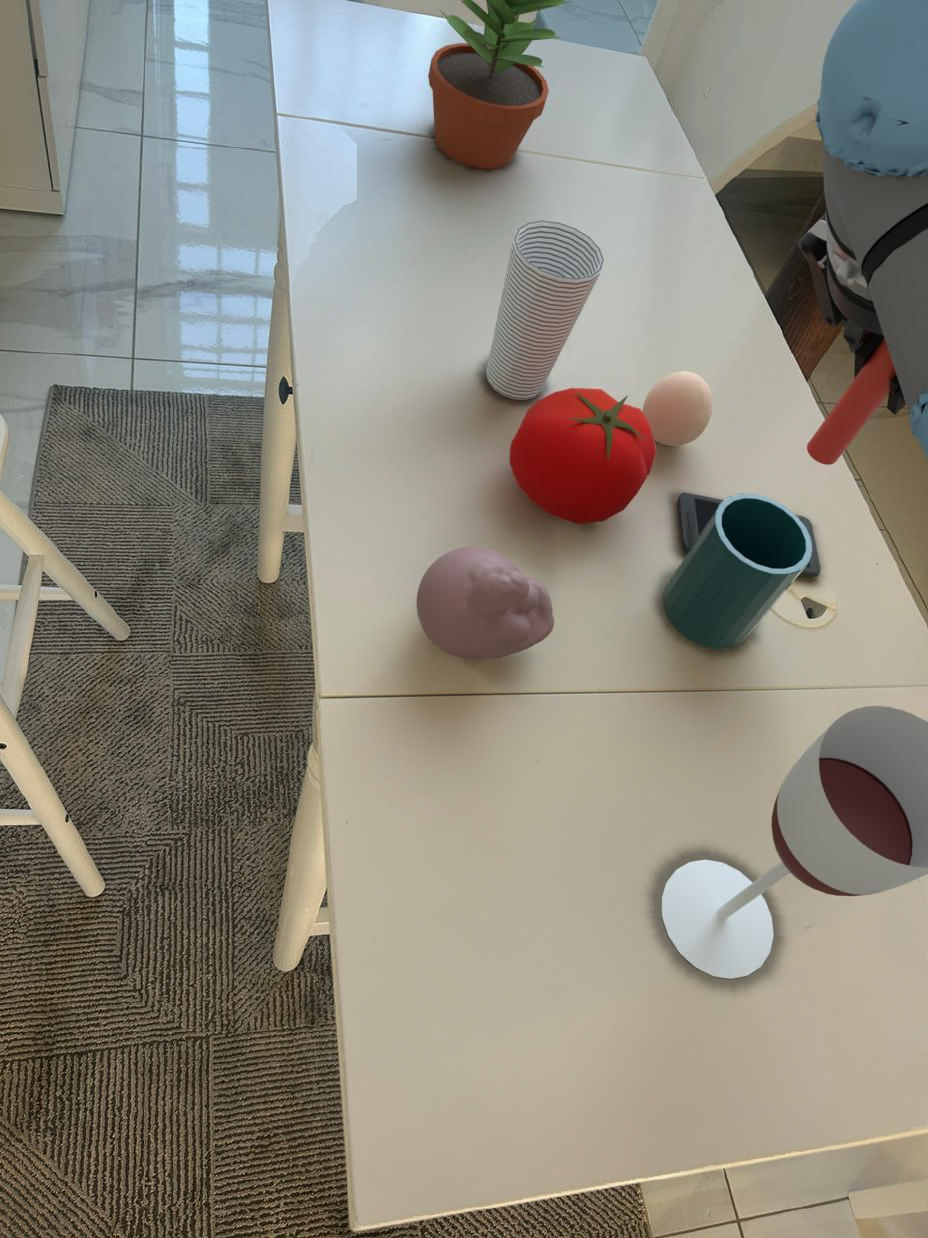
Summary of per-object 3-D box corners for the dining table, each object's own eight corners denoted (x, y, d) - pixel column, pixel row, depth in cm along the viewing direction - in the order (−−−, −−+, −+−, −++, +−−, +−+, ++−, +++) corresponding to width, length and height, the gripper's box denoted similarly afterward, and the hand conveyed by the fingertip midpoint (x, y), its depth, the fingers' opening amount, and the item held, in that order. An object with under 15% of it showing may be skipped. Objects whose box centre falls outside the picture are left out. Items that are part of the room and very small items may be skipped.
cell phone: (675, 495, 95) (678, 490, 94) (807, 522, 97) (811, 517, 96) (681, 553, 91) (684, 548, 90) (819, 580, 93) (823, 575, 92)
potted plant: (390, 132, 121) (438, -157, 97) (467, 102, 129) (528, -172, 105) (480, 195, 117) (552, -89, 93) (553, 159, 126) (637, -110, 102)
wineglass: (629, 906, 70) (784, 764, 51) (715, 831, 75) (885, 677, 57) (720, 1014, 67) (919, 904, 49) (803, 927, 72) (1012, 799, 54)
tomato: (545, 560, 87) (583, 479, 78) (475, 462, 92) (504, 376, 83) (657, 520, 93) (704, 442, 84) (586, 431, 98) (623, 348, 89)
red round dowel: (843, 461, 72) (974, 292, 60) (819, 467, 71) (947, 297, 59) (823, 438, 73) (949, 267, 61) (800, 443, 72) (922, 271, 60)
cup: (565, 376, 102) (617, 247, 89) (535, 422, 97) (586, 292, 84) (493, 340, 102) (534, 207, 90) (459, 384, 97) (498, 250, 85)
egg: (675, 411, 103) (707, 352, 96) (704, 457, 99) (738, 399, 93) (621, 416, 100) (650, 356, 94) (648, 464, 97) (680, 405, 91)
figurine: (541, 690, 79) (588, 605, 69) (405, 673, 77) (434, 582, 67) (537, 602, 84) (581, 511, 74) (410, 583, 82) (438, 487, 72)
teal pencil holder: (768, 635, 88) (832, 560, 79) (695, 660, 84) (753, 584, 75) (717, 563, 91) (773, 484, 82) (645, 584, 88) (696, 504, 79)
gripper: (737, 207, 51) (770, 357, 73) (974, 393, 46) (933, 493, 68) (846, 89, 49) (846, 278, 71) (1103, 269, 44) (1019, 412, 66)
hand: (888, 383), depth 69 cm, fingers closed on red round dowel, 2 cm apart
